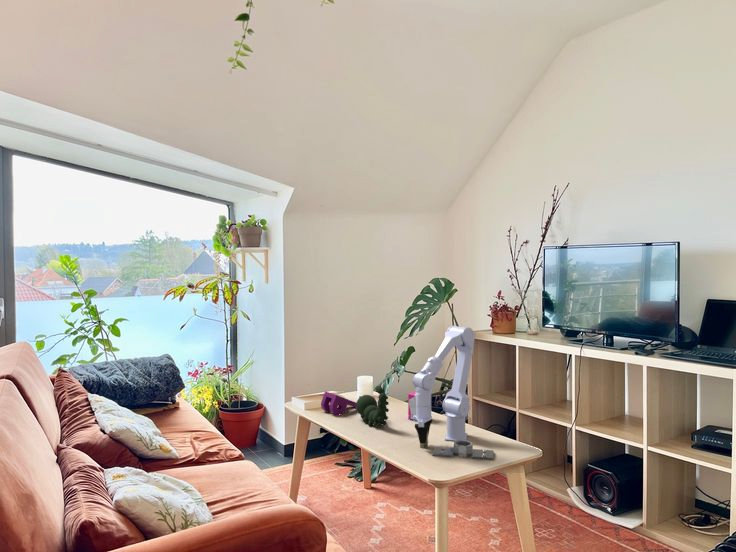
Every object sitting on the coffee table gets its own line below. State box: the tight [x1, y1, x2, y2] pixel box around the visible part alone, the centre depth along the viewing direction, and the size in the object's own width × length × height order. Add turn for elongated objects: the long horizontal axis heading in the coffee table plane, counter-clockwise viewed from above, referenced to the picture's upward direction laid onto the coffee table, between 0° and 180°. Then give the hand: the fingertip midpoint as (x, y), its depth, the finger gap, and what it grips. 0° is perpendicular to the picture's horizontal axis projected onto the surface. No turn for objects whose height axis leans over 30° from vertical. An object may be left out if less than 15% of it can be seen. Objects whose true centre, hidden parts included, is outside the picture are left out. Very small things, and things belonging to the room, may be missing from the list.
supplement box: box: [407, 391, 417, 422], centre depth 251 cm, size 6×6×12 cm
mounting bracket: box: [320, 391, 357, 416], centre depth 266 cm, size 9×8×18 cm
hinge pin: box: [419, 433, 429, 449], centre depth 214 cm, size 3×3×8 cm
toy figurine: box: [355, 385, 390, 427], centre depth 246 cm, size 9×19×25 cm
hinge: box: [432, 440, 495, 461], centre depth 206 cm, size 21×8×4 cm, turn 77°
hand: (423, 440), depth 214 cm, fingers open, 5 cm apart
